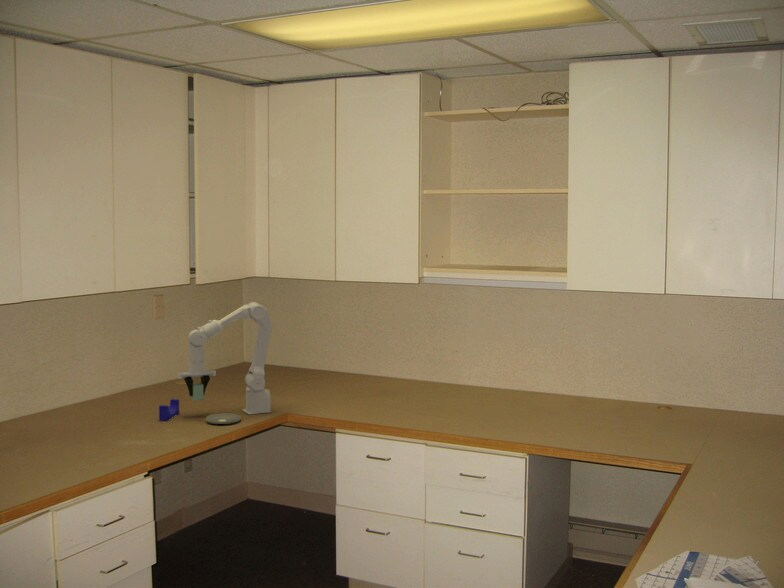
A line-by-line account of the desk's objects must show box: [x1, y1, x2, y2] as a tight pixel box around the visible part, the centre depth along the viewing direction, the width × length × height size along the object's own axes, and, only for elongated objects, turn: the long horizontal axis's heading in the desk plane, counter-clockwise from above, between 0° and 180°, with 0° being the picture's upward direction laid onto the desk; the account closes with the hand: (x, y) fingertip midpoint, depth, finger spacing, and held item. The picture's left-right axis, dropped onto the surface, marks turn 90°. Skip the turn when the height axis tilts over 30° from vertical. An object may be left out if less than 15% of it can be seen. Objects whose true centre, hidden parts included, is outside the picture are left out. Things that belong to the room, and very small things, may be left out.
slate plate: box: [205, 412, 241, 425], centre depth 306 cm, size 13×13×2 cm
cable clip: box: [158, 398, 180, 422], centre depth 311 cm, size 12×4×6 cm, turn 172°
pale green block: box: [189, 382, 204, 402], centre depth 312 cm, size 4×4×6 cm
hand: (196, 395), depth 312 cm, fingers closed on pale green block, 4 cm apart
